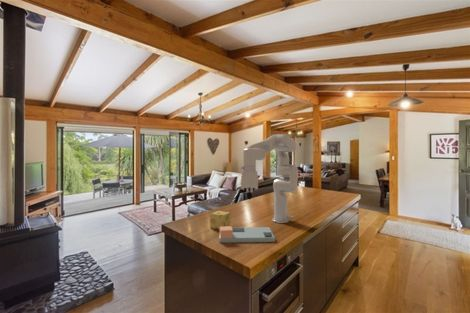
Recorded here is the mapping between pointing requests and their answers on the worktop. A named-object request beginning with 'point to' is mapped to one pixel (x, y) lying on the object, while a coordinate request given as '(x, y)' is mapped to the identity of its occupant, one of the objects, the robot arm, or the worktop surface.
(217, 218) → the cheese
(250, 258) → the worktop surface
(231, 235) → the block
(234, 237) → the trap deck
